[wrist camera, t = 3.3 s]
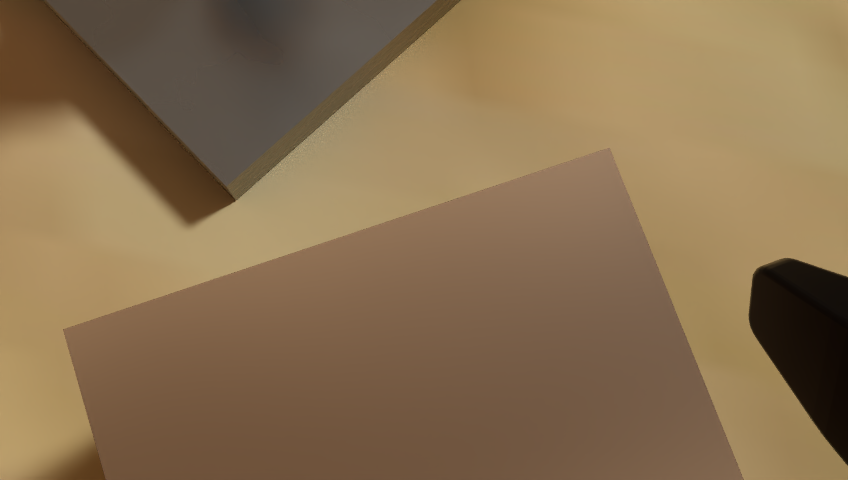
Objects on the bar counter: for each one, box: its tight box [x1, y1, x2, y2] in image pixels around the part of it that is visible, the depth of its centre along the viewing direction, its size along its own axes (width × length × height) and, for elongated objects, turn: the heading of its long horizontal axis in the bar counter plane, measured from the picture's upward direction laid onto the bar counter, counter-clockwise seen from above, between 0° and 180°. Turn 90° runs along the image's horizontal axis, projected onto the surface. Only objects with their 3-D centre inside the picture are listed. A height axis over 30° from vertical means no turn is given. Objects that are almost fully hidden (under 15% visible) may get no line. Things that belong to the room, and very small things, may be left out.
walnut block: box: [63, 148, 744, 480], centre depth 11 cm, size 6×6×9 cm
